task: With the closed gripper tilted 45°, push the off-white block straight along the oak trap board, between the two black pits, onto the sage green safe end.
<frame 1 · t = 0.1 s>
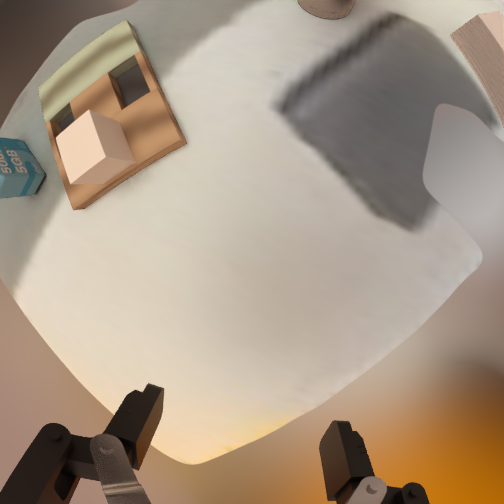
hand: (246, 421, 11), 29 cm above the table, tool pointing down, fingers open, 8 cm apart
block: (110, 152, 34), point 3 cm above the table, touching trap board
data package: (30, 166, 38), on the table
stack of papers: (503, 100, 31), on the table
trap board: (103, 109, 36), on the table
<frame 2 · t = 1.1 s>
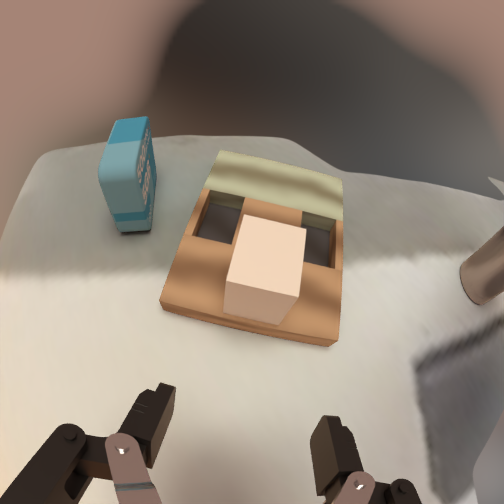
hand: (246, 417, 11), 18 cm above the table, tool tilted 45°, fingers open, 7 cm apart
block: (256, 290, 31), point 3 cm above the table, touching trap board
data package: (139, 203, 39), on the table
trap board: (265, 239, 38), on the table
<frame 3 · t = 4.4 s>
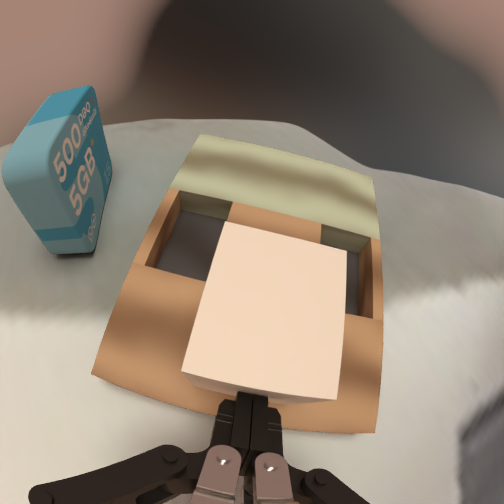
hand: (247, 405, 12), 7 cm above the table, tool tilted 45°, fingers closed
block: (251, 347, 18), point 3 cm above the table, touching trap board
data package: (85, 211, 26), on the table
trap board: (264, 268, 25), on the table
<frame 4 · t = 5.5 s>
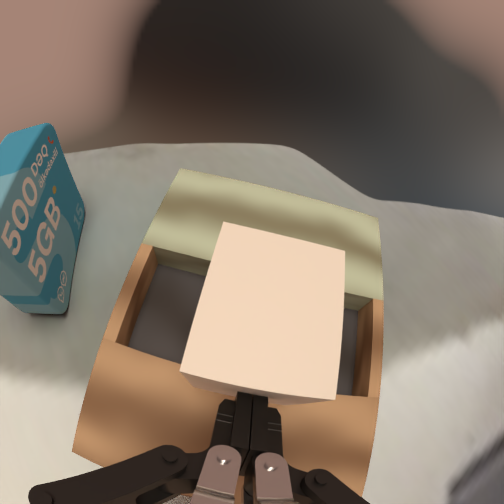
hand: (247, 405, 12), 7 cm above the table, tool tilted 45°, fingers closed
block: (250, 347, 18), point 3 cm above the table, touching gripper
data package: (58, 260, 22), on the table
trap board: (250, 335, 21), on the table
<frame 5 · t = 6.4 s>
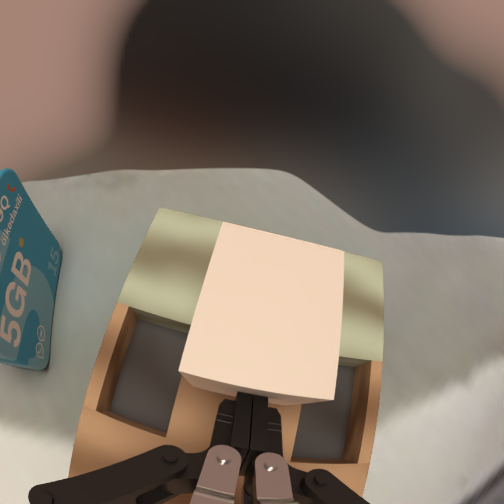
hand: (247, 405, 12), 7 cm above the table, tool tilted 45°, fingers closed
block: (249, 347, 18), point 3 cm above the table, touching gripper, trap board
data package: (37, 308, 20), on the table
trap board: (237, 398, 19), on the table
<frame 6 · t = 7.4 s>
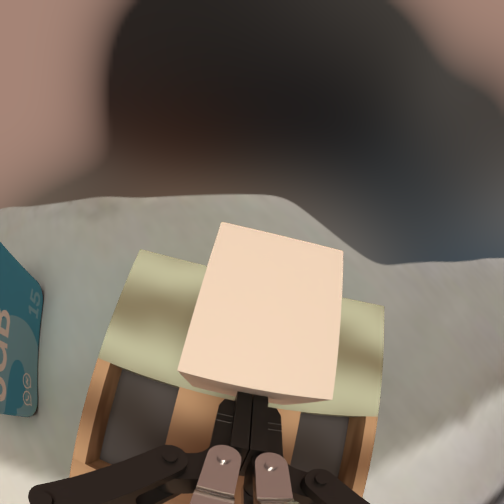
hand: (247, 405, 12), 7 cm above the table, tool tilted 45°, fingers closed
block: (249, 347, 18), point 3 cm above the table, touching gripper, trap board
data package: (22, 349, 17), on the table
trap board: (226, 451, 16), on the table
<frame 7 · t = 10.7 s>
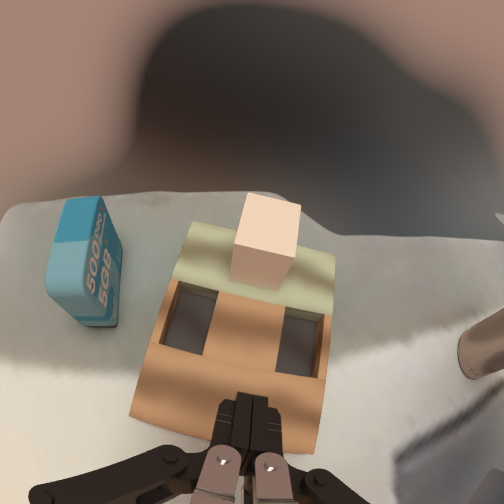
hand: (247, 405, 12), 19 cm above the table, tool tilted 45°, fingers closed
block: (258, 261, 36), point 3 cm above the table, touching trap board
data package: (105, 287, 34), on the table
trap board: (242, 337, 33), on the table
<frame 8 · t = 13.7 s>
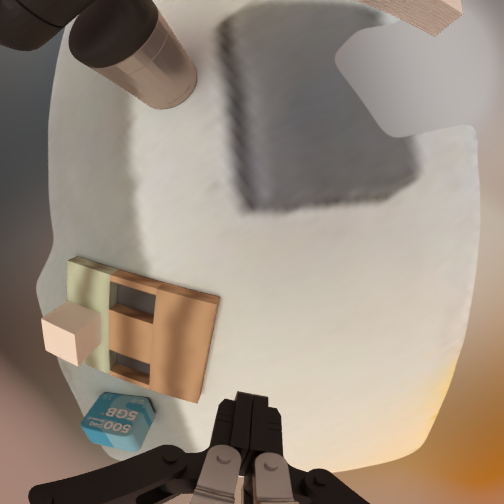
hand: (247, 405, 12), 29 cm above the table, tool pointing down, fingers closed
block: (84, 322, 41), point 3 cm above the table, touching trap board
data package: (129, 401, 48), on the table
trap board: (136, 329, 44), on the table
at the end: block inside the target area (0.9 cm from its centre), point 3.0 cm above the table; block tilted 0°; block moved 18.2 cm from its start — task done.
